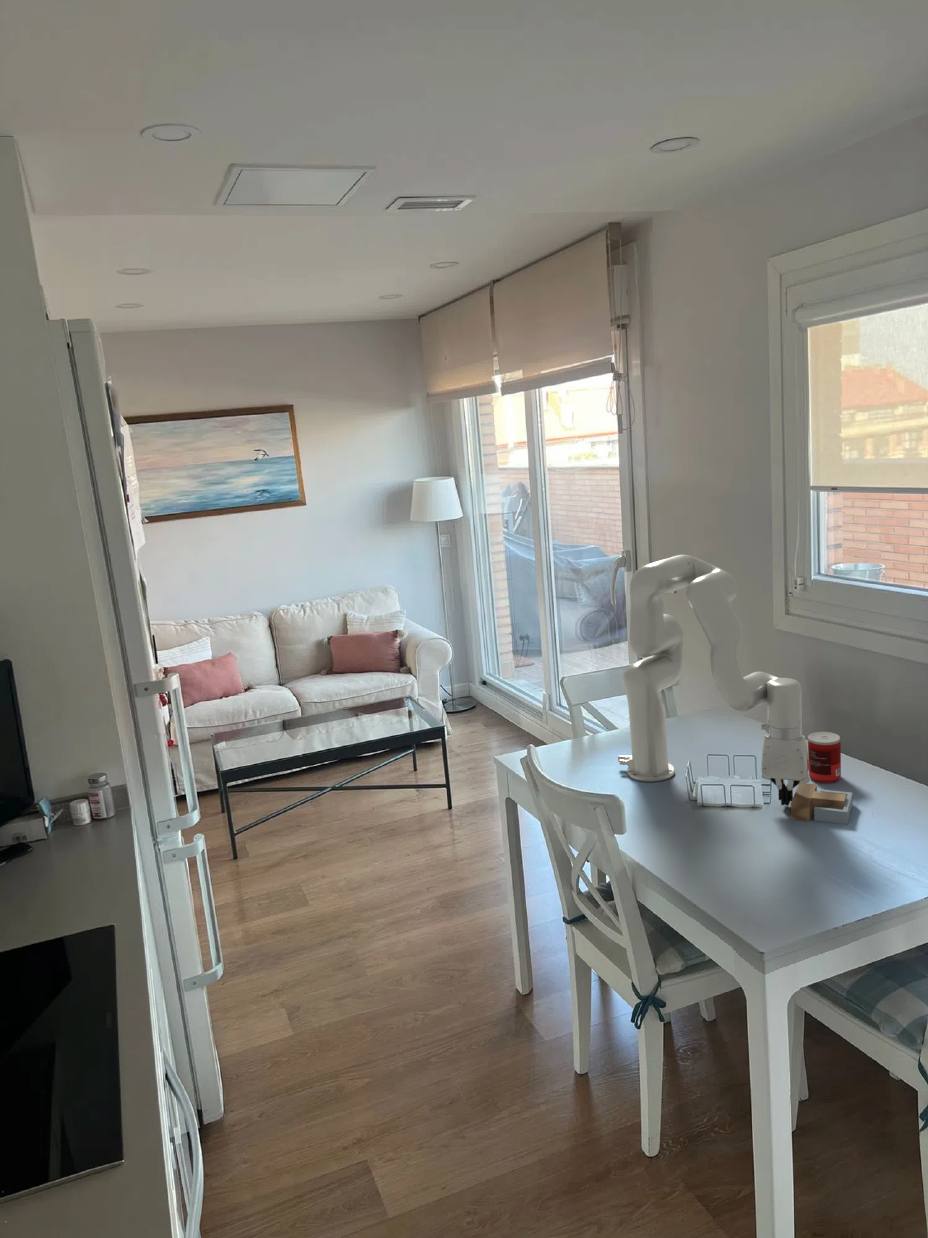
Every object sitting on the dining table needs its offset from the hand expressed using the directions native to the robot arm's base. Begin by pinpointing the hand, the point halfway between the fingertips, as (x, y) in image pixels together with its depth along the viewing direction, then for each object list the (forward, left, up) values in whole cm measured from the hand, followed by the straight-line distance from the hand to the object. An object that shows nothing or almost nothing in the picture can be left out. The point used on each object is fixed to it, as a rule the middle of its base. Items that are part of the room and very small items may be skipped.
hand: (785, 803), depth 214 cm
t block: (+8, 0, -1) cm, 8 cm away
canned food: (+6, +20, -1) cm, 21 cm away
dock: (+11, 0, -1) cm, 11 cm away
